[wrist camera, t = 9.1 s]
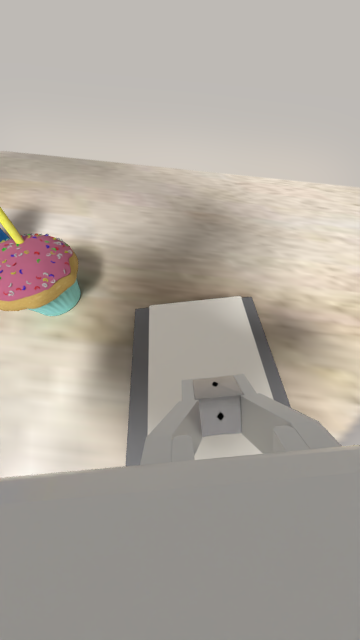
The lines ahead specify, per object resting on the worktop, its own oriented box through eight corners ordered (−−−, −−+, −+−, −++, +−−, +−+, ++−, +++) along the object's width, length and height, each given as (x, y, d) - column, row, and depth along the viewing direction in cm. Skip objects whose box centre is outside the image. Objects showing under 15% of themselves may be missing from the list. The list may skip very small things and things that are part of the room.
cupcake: (51, 270, 24) (-54, 152, 14) (109, 277, 23) (39, 151, 13) (6, 325, 20) (-190, 215, 10) (74, 339, 19) (-75, 224, 8)
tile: (296, 473, 10) (240, 295, 16) (146, 485, 10) (149, 305, 16) (279, 466, 12) (235, 311, 18) (155, 476, 12) (154, 320, 18)
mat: (363, 628, 9) (373, 640, 8) (118, 643, 9) (113, 655, 9) (250, 300, 19) (251, 296, 19) (137, 312, 20) (135, 309, 19)
